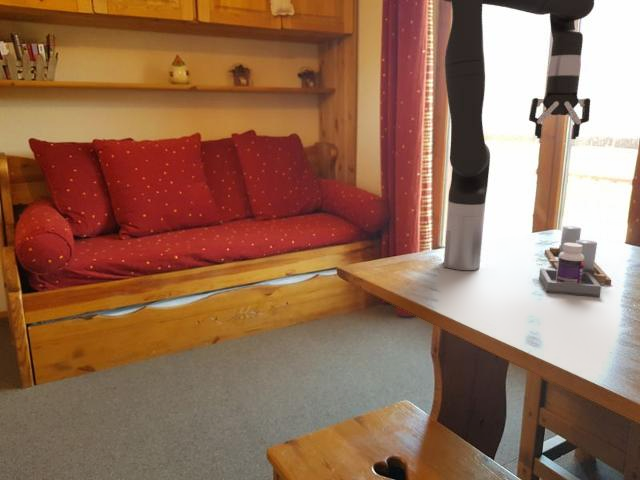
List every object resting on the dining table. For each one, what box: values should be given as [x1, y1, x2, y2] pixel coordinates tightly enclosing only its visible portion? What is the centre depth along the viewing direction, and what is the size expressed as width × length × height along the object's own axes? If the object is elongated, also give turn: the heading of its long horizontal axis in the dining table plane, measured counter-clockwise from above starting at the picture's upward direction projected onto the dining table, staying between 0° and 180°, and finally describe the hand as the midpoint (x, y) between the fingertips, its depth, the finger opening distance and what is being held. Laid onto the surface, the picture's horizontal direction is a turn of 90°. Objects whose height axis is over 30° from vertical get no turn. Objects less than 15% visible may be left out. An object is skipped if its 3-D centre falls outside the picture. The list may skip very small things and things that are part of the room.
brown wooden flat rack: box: [544, 245, 612, 286], centre depth 136 cm, size 12×26×3 cm, turn 166°
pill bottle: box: [556, 243, 584, 284], centre depth 119 cm, size 5×5×10 cm
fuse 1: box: [559, 225, 582, 254], centre depth 143 cm, size 5×5×9 cm
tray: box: [538, 268, 602, 298], centre depth 120 cm, size 11×11×2 cm
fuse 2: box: [576, 239, 598, 269], centre depth 127 cm, size 5×5×9 cm
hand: (556, 138), depth 137 cm, fingers open, 8 cm apart
